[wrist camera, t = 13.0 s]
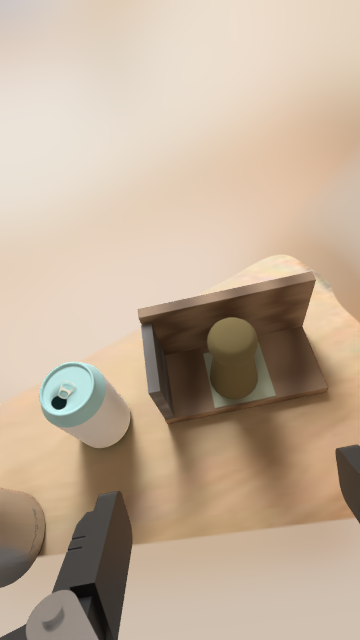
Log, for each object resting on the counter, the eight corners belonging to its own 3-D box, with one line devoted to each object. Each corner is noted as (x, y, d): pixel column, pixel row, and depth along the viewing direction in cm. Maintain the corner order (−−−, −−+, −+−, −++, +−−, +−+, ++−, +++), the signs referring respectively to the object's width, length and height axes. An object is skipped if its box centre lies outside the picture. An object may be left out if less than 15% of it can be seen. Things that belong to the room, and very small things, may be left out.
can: (135, 440, 42) (103, 411, 32) (81, 455, 42) (32, 431, 32) (128, 389, 46) (96, 348, 36) (78, 402, 46) (33, 365, 36)
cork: (261, 396, 41) (268, 357, 32) (212, 401, 42) (204, 364, 33) (253, 352, 45) (257, 304, 35) (207, 357, 45) (199, 311, 36)
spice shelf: (167, 423, 43) (146, 391, 33) (158, 354, 48) (137, 309, 39) (325, 391, 42) (350, 349, 33) (297, 324, 48) (312, 271, 38)
